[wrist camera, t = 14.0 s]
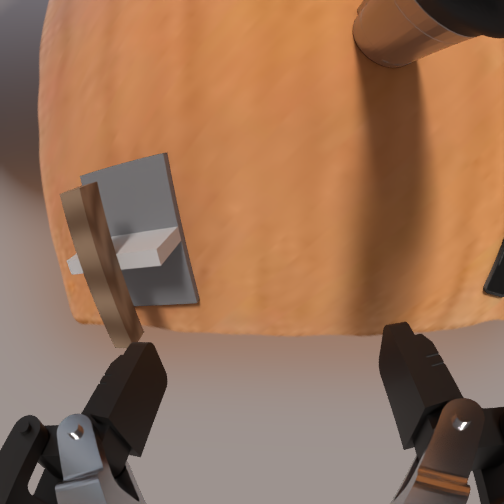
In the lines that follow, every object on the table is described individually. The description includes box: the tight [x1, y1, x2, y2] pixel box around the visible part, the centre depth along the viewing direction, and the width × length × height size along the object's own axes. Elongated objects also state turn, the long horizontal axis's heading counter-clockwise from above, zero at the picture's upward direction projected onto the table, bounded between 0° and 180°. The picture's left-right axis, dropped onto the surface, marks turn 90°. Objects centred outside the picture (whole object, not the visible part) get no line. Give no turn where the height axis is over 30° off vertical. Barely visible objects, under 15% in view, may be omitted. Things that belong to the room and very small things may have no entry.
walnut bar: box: [60, 182, 144, 348], centre depth 31 cm, size 20×3×4 cm, turn 8°
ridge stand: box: [67, 153, 199, 306], centre depth 37 cm, size 22×14×10 cm, turn 8°
